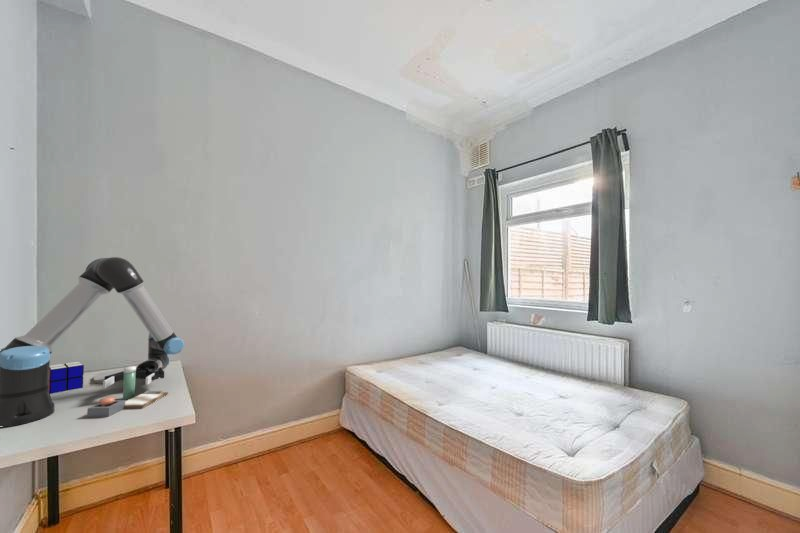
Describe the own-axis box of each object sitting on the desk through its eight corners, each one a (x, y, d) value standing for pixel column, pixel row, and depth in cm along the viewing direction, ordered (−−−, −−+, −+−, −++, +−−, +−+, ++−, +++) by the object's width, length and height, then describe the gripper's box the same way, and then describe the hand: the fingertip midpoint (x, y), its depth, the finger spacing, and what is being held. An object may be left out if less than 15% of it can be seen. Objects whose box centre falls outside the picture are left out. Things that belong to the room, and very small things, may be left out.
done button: (108, 405, 111) (108, 400, 111) (96, 405, 111) (96, 401, 111) (117, 400, 115) (117, 396, 115) (105, 401, 115) (106, 396, 115)
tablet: (164, 375, 159) (164, 370, 159) (92, 386, 142) (93, 381, 142) (162, 368, 171) (162, 363, 172) (96, 377, 155) (96, 372, 155)
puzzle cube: (49, 394, 131) (50, 369, 132) (46, 389, 137) (47, 365, 138) (83, 387, 139) (84, 364, 140) (78, 383, 145) (79, 361, 146)
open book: (142, 408, 116) (142, 403, 116) (113, 409, 116) (113, 404, 116) (167, 394, 130) (168, 390, 130) (142, 395, 130) (142, 390, 130)
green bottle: (130, 399, 125) (131, 368, 125) (119, 400, 125) (121, 368, 125) (137, 396, 129) (138, 365, 129) (127, 396, 128) (128, 366, 129)
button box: (108, 416, 109) (109, 407, 110) (87, 417, 109) (87, 408, 109) (124, 408, 116) (125, 400, 117) (104, 408, 116) (105, 400, 116)
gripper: (180, 374, 148) (163, 389, 128) (114, 379, 140) (84, 396, 120) (181, 358, 148) (164, 370, 128) (115, 362, 140) (85, 376, 120)
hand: (125, 382), depth 124 cm, fingers open, 13 cm apart
